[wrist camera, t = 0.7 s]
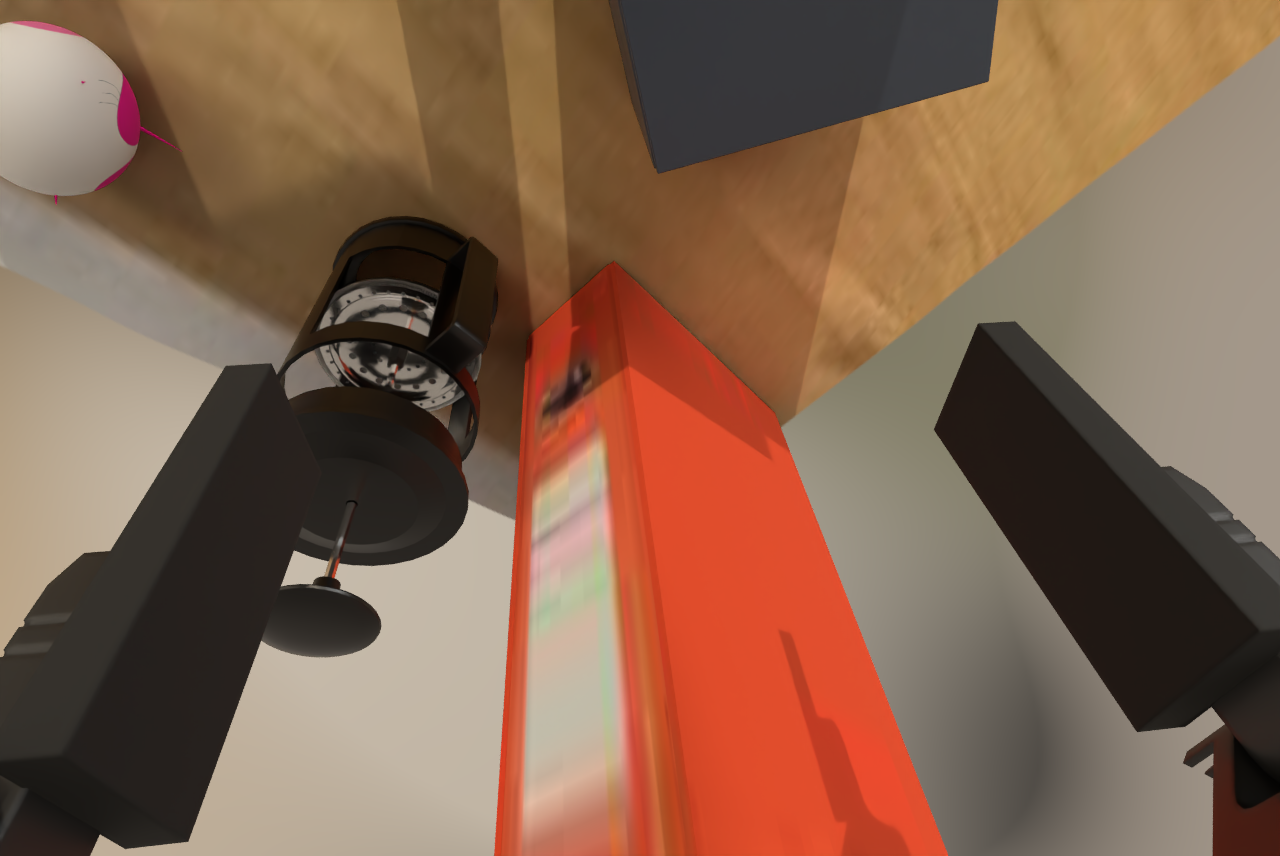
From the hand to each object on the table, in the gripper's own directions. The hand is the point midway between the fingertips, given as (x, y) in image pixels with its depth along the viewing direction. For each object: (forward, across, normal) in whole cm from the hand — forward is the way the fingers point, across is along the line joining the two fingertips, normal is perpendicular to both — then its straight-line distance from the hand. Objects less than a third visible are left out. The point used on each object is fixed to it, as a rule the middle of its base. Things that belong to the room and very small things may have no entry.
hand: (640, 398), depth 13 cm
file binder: (+26, +4, -19) cm, 32 cm away
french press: (+26, -10, -11) cm, 30 cm away
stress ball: (+26, -23, -1) cm, 35 cm away
